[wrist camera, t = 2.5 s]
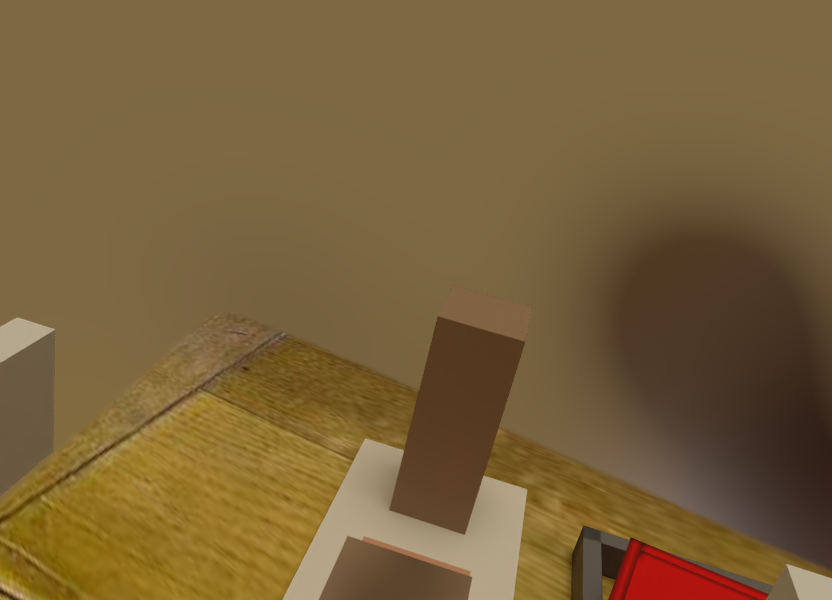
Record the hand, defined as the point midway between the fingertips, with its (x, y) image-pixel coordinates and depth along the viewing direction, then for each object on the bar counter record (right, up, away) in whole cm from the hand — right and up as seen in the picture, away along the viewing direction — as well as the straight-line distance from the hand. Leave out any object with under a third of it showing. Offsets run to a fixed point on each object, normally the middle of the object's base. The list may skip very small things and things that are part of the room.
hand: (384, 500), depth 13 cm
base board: (0, -14, +32) cm, 35 cm away
